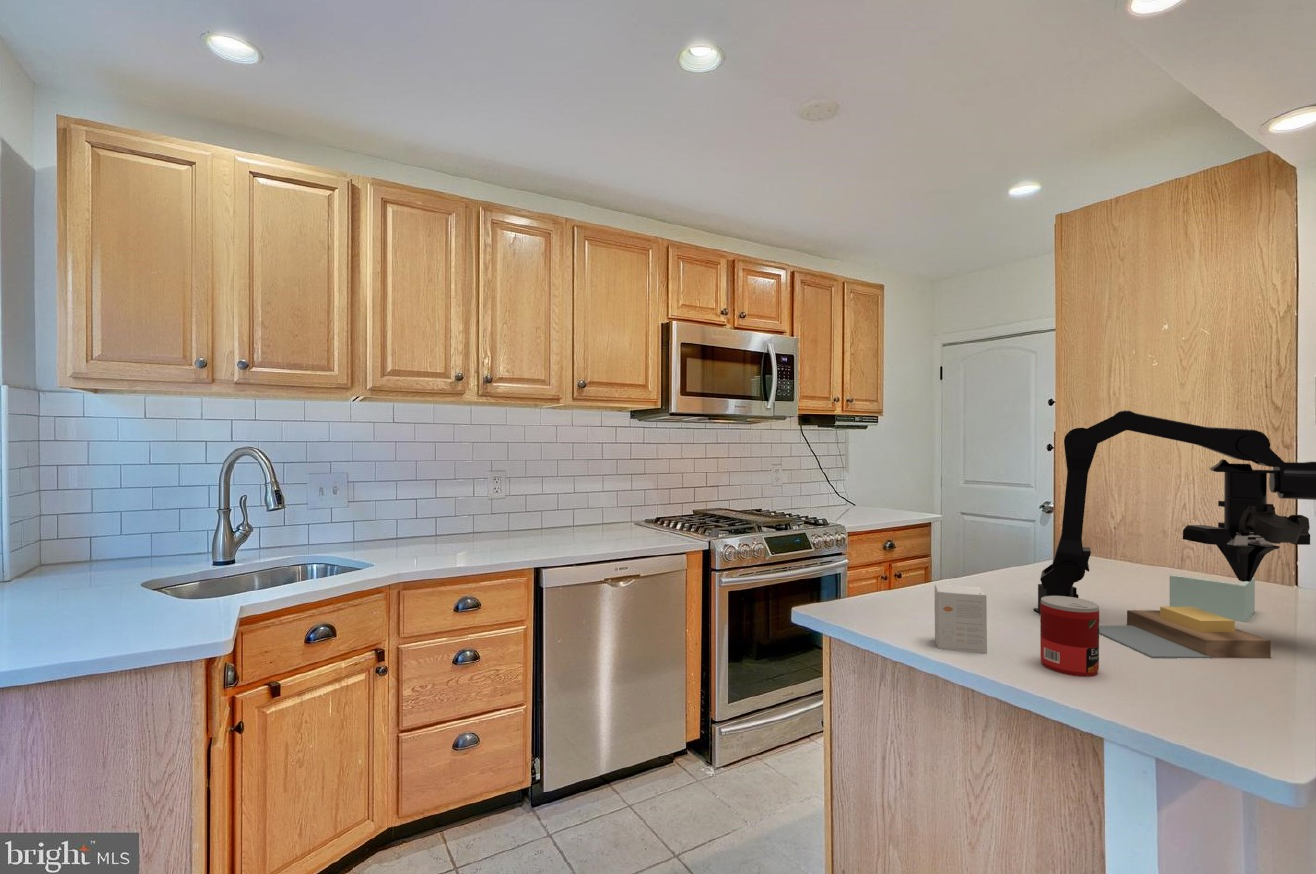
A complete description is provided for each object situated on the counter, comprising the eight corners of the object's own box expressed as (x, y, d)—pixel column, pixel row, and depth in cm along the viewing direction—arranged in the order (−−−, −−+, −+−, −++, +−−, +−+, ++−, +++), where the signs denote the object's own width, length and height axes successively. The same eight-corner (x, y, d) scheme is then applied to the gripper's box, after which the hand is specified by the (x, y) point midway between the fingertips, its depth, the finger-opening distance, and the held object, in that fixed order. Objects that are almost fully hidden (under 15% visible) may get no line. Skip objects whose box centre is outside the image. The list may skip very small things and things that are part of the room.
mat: (1152, 658, 105) (1152, 656, 105) (1084, 627, 122) (1084, 625, 122) (1211, 658, 105) (1211, 656, 105) (1135, 627, 122) (1135, 625, 122)
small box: (982, 644, 112) (982, 587, 112) (987, 655, 107) (987, 594, 107) (934, 640, 115) (934, 583, 115) (937, 650, 110) (937, 591, 110)
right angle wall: (1254, 612, 133) (1254, 577, 133) (1244, 622, 126) (1244, 586, 126) (1182, 600, 142) (1183, 568, 142) (1169, 609, 135) (1169, 575, 135)
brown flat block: (1205, 657, 106) (1205, 640, 106) (1126, 625, 124) (1127, 610, 124) (1270, 658, 106) (1270, 640, 106) (1182, 625, 124) (1182, 610, 124)
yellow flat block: (1200, 632, 110) (1200, 620, 110) (1160, 617, 119) (1160, 606, 119) (1234, 632, 110) (1234, 620, 110) (1191, 617, 119) (1191, 606, 119)
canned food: (1100, 682, 96) (1101, 611, 95) (1040, 671, 100) (1040, 603, 100) (1097, 666, 102) (1097, 599, 102) (1040, 657, 106) (1040, 593, 106)
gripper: (1234, 501, 106) (1234, 592, 106) (1344, 502, 106) (1343, 592, 106) (1180, 495, 118) (1180, 577, 118) (1279, 495, 117) (1279, 577, 117)
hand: (1244, 581), depth 114 cm, fingers closed
